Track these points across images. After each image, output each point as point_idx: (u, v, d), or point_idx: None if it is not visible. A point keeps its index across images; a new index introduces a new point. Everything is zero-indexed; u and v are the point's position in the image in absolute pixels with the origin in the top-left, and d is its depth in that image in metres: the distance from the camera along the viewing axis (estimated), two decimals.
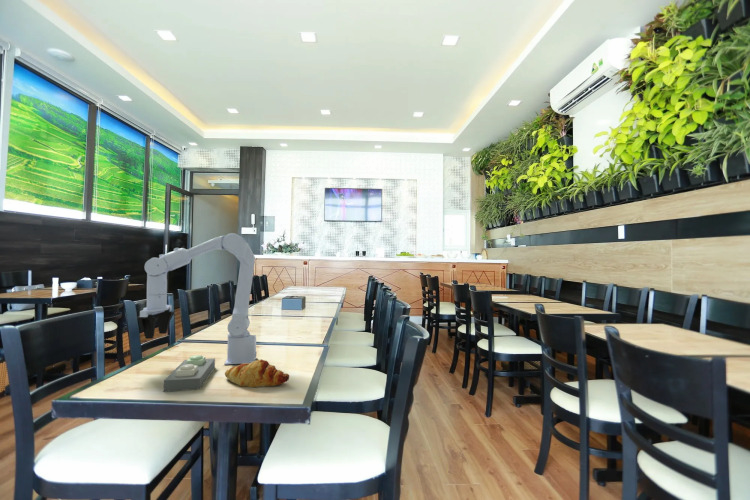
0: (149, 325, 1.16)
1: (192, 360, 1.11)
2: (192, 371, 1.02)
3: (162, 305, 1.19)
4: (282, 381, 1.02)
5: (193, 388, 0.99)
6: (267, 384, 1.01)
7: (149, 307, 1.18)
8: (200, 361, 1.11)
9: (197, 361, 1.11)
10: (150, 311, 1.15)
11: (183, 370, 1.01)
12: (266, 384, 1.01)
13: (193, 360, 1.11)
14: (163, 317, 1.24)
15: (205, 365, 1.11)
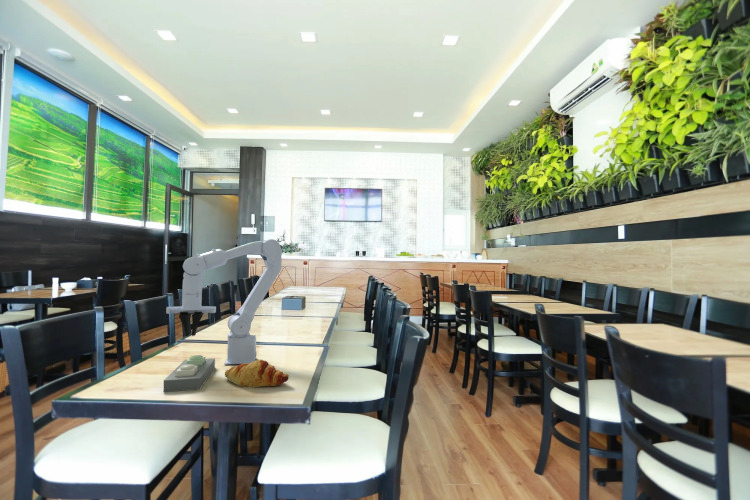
0: None
1: (192, 360, 1.11)
2: (192, 371, 1.02)
3: (185, 305, 1.17)
4: (281, 381, 1.01)
5: (193, 388, 0.99)
6: (266, 384, 1.01)
7: None
8: (200, 361, 1.11)
9: (197, 361, 1.11)
10: (172, 309, 1.17)
11: (183, 370, 1.01)
12: (265, 384, 1.01)
13: (193, 360, 1.11)
14: None
15: (205, 365, 1.11)
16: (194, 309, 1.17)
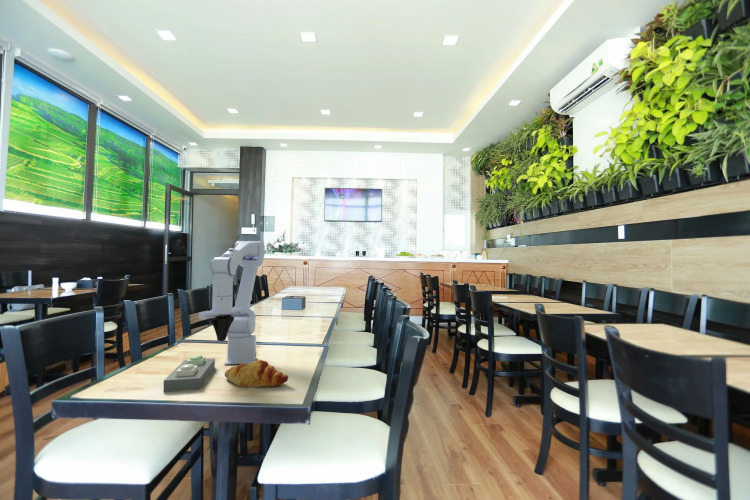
0: (220, 326, 1.11)
1: (192, 360, 1.11)
2: (192, 371, 1.02)
3: (224, 308, 1.10)
4: (281, 382, 1.01)
5: (193, 388, 0.99)
6: (266, 385, 1.01)
7: (212, 309, 1.10)
8: (200, 361, 1.11)
9: (197, 361, 1.11)
10: (209, 313, 1.07)
11: (183, 370, 1.01)
12: (265, 385, 1.01)
13: (193, 360, 1.11)
14: None
15: (205, 365, 1.11)
16: (232, 311, 1.12)
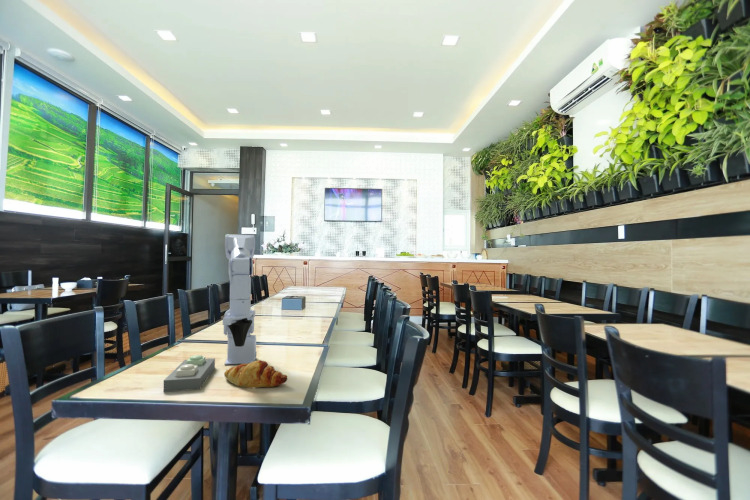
0: (239, 331, 1.05)
1: (192, 360, 1.11)
2: (192, 371, 1.02)
3: (246, 311, 1.04)
4: (280, 382, 1.01)
5: (193, 388, 0.99)
6: (265, 385, 1.00)
7: (232, 313, 1.03)
8: (200, 361, 1.11)
9: (197, 361, 1.11)
10: (233, 318, 1.00)
11: (183, 370, 1.01)
12: (264, 385, 1.00)
13: (193, 360, 1.11)
14: None
15: (205, 365, 1.11)
16: (251, 315, 1.07)
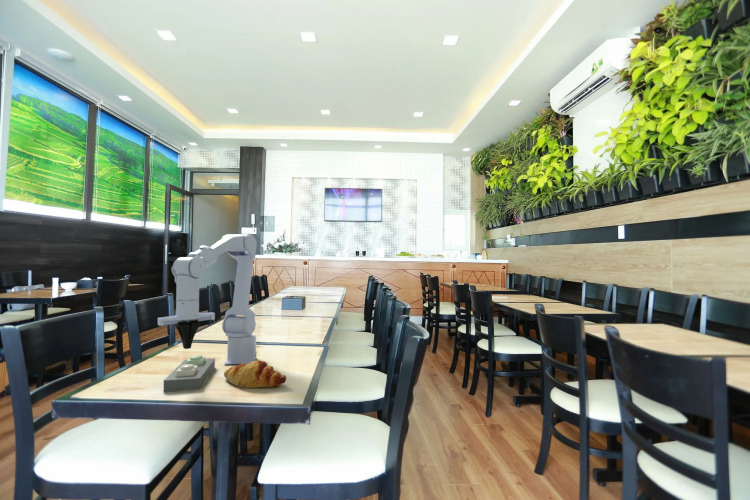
0: None
1: (192, 360, 1.11)
2: (192, 371, 1.02)
3: (186, 313, 1.00)
4: (279, 382, 1.00)
5: (193, 388, 0.99)
6: (264, 385, 1.00)
7: (176, 314, 1.02)
8: (200, 361, 1.11)
9: (197, 361, 1.11)
10: (167, 319, 0.98)
11: (183, 370, 1.01)
12: (263, 385, 1.00)
13: (193, 360, 1.11)
14: None
15: (205, 365, 1.11)
16: (196, 317, 1.02)
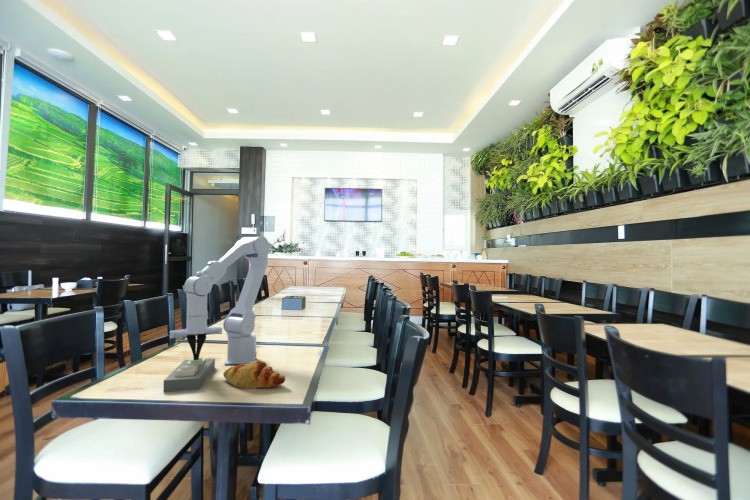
0: None
1: (192, 362, 1.11)
2: (192, 371, 1.02)
3: (192, 328, 1.11)
4: (277, 383, 1.00)
5: (193, 388, 0.99)
6: (262, 386, 1.00)
7: None
8: (200, 363, 1.11)
9: (197, 363, 1.11)
10: (176, 333, 1.10)
11: (183, 370, 1.01)
12: (261, 386, 1.00)
13: (193, 362, 1.11)
14: None
15: (205, 365, 1.11)
16: (202, 332, 1.12)
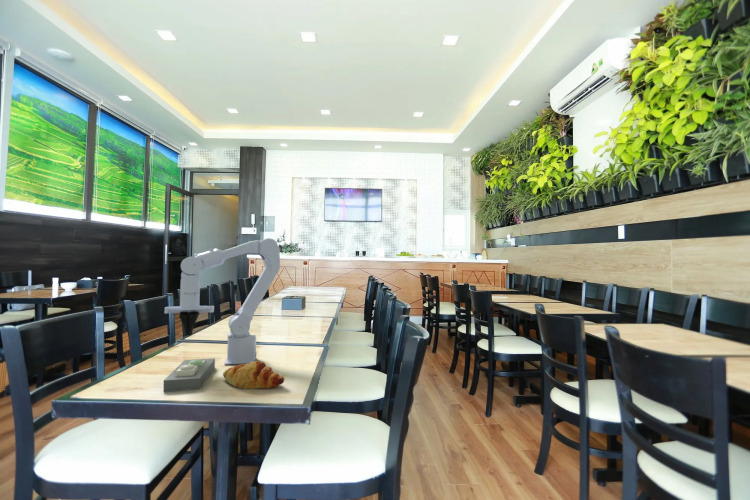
0: None
1: None
2: (192, 371, 1.02)
3: (183, 304, 1.17)
4: (276, 384, 1.00)
5: (193, 388, 0.99)
6: (262, 386, 1.00)
7: None
8: None
9: None
10: (170, 308, 1.18)
11: (183, 370, 1.01)
12: (261, 386, 0.99)
13: None
14: None
15: (205, 365, 1.11)
16: (192, 309, 1.18)
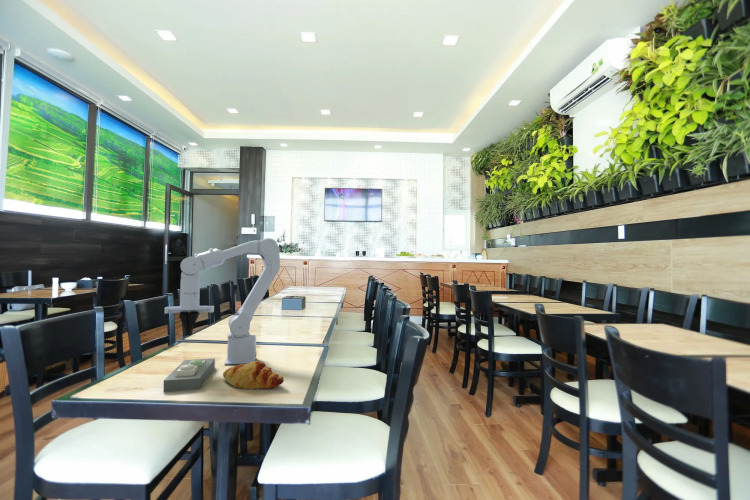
0: None
1: None
2: (192, 371, 1.02)
3: (183, 304, 1.18)
4: (276, 384, 0.99)
5: (193, 388, 0.99)
6: (261, 386, 0.99)
7: None
8: None
9: None
10: (170, 308, 1.18)
11: (183, 370, 1.01)
12: (260, 386, 0.99)
13: None
14: None
15: (205, 365, 1.11)
16: (192, 309, 1.18)
